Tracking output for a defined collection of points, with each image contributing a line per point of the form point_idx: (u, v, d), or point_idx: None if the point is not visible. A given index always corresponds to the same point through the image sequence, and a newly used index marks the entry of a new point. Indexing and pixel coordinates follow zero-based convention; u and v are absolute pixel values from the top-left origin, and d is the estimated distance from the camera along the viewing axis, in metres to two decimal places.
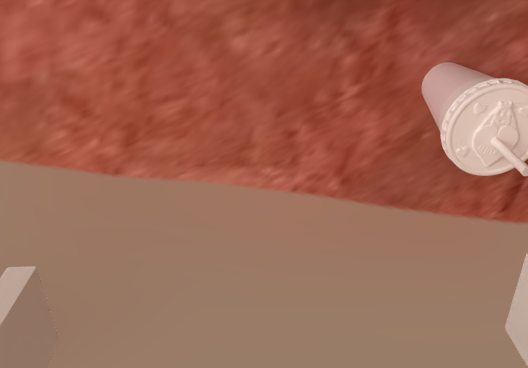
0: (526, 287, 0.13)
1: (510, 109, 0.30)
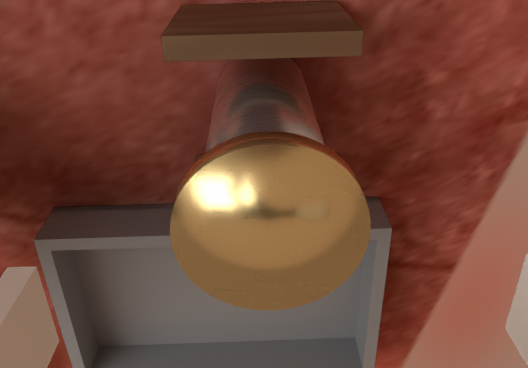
0: (526, 287, 0.13)
1: None
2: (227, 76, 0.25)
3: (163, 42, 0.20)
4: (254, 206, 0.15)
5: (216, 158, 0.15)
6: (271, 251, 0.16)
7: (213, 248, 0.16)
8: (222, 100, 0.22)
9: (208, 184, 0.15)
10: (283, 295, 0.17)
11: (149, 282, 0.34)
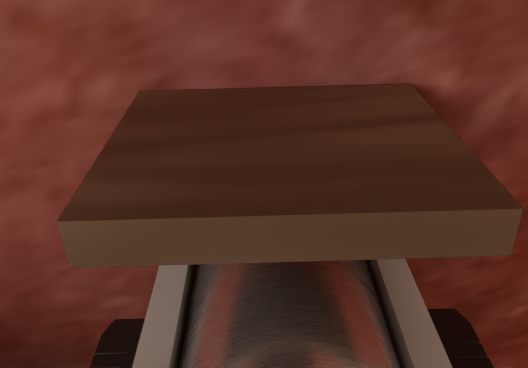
0: None
1: None
2: None
3: (64, 233, 0.09)
4: None
5: None
6: None
7: None
8: (204, 312, 0.11)
9: None
10: None
11: None
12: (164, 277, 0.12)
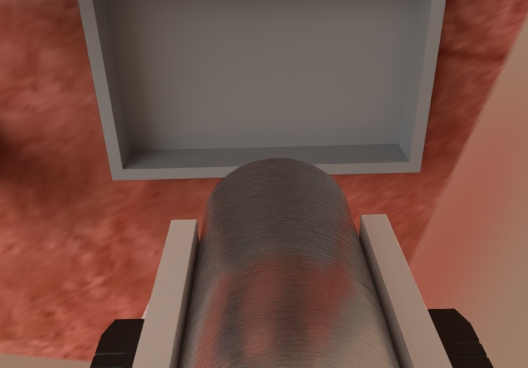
0: (361, 245, 0.15)
1: None
2: (218, 228, 0.14)
3: None
4: None
5: None
6: None
7: None
8: (204, 313, 0.11)
9: None
10: None
11: (187, 66, 0.32)
12: (164, 277, 0.12)
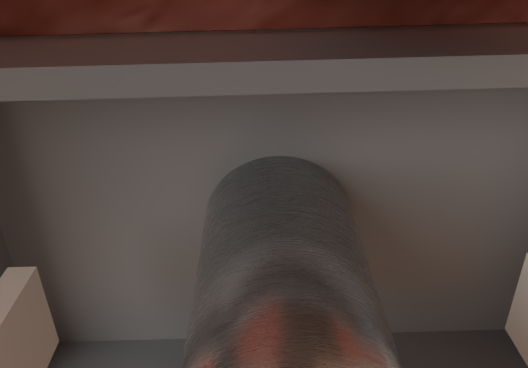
0: (526, 287, 0.13)
1: None
2: (220, 224, 0.14)
3: None
4: None
5: None
6: None
7: None
8: (207, 307, 0.11)
9: None
10: None
11: (130, 213, 0.17)
12: None
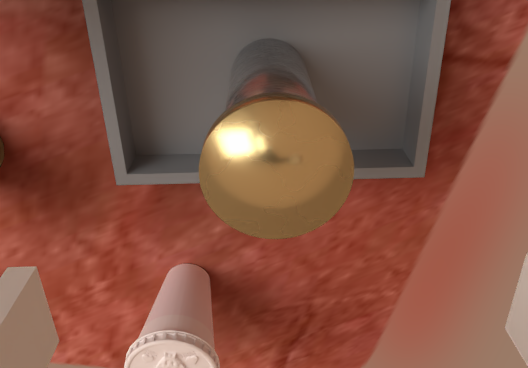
0: (526, 287, 0.13)
1: (175, 360, 0.32)
2: (240, 61, 0.29)
3: None
4: (264, 150, 0.20)
5: (236, 111, 0.19)
6: (277, 188, 0.21)
7: (232, 185, 0.21)
8: (237, 78, 0.27)
9: (229, 131, 0.19)
10: (286, 225, 0.22)
11: (192, 71, 0.32)
12: None
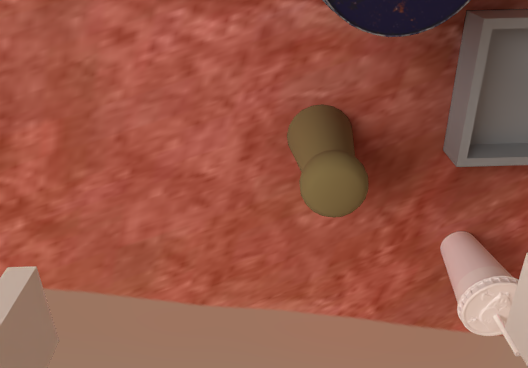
0: (526, 287, 0.13)
1: (507, 298, 0.43)
2: None
3: None
4: None
5: None
6: None
7: None
8: None
9: None
10: None
11: (518, 80, 0.43)
12: None
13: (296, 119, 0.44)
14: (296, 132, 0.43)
